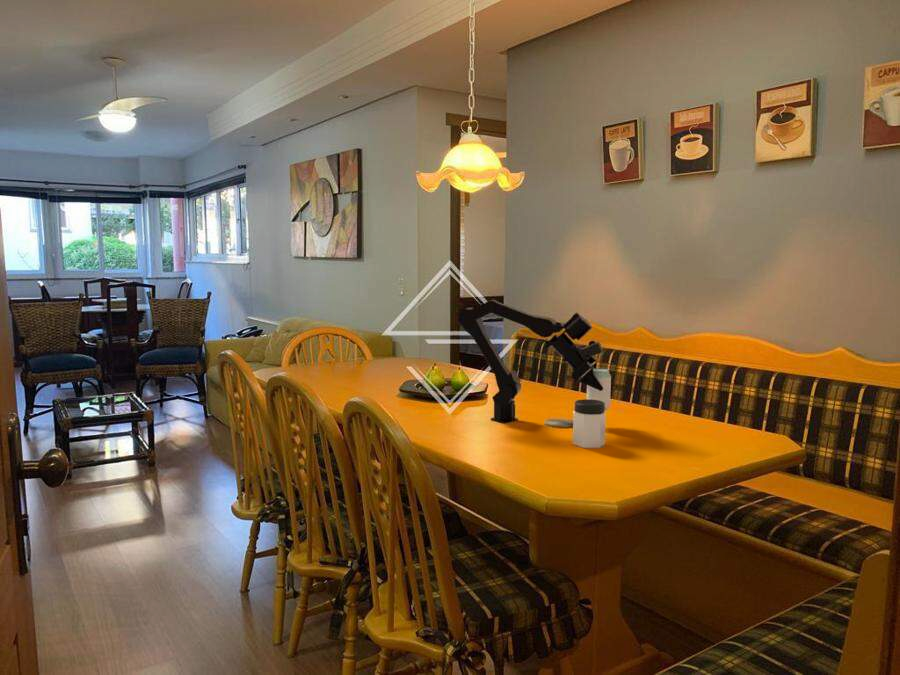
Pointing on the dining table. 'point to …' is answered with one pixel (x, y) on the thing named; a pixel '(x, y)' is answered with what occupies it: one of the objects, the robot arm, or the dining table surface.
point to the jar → (589, 423)
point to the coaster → (559, 422)
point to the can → (605, 381)
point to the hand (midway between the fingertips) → (603, 387)
